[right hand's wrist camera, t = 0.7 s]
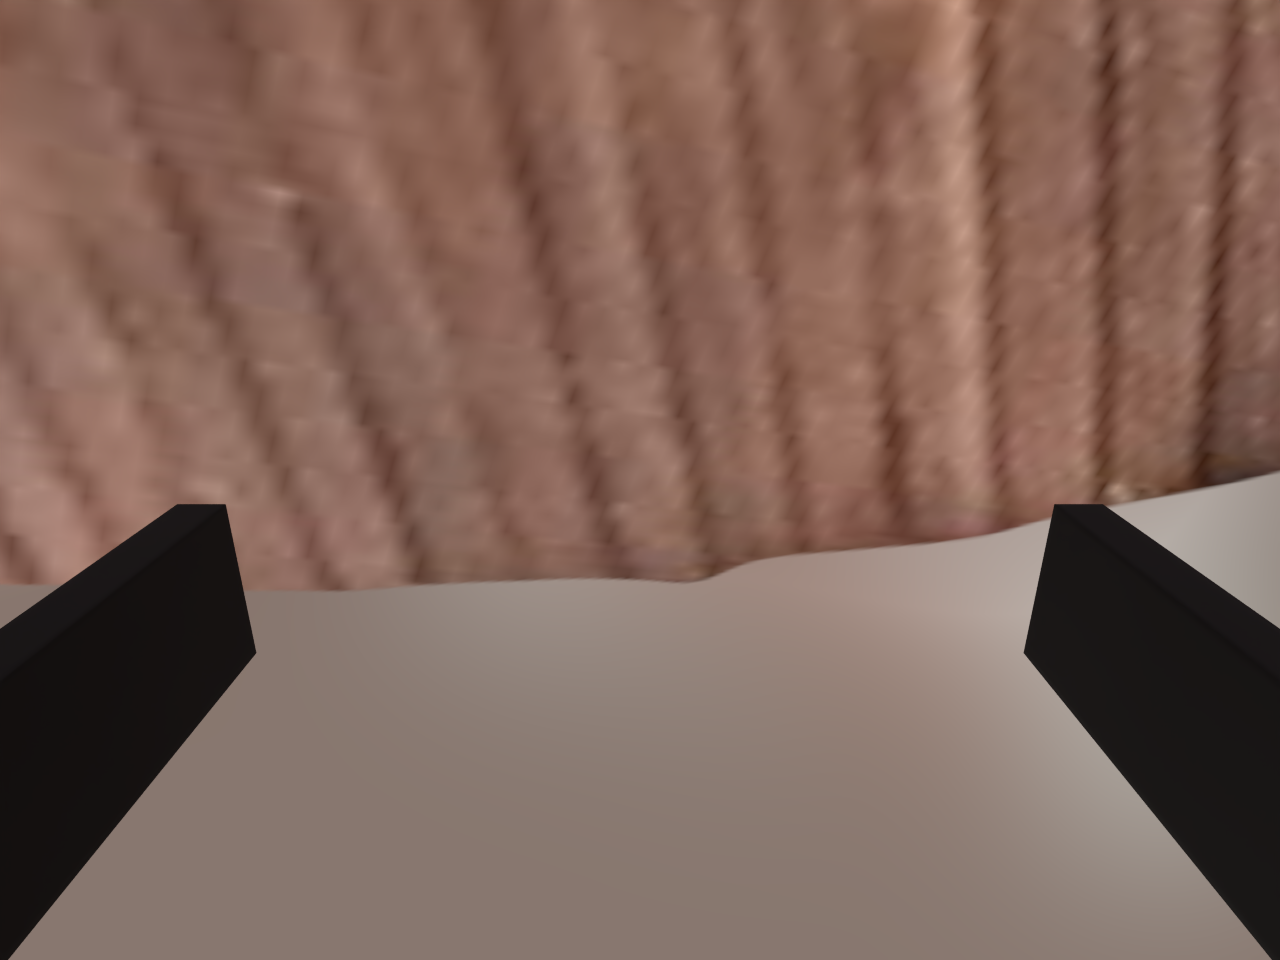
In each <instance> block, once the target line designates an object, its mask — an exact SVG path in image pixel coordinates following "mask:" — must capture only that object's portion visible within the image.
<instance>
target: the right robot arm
mask: <svg viewBox="0 0 1280 960" xmlns="http://www.w3.org/2000/svg"><path fill="white" fill-rule="evenodd" d="M255 654H256V649H255V644H254V639H253V634H252V630H251V625H250V620H249V615H248V610H247V606H246V601H245V596H244V591H243V586H242V581H241V576H240V572H239V567H238V562H237V557H236V552H235V547H234V543H233V538H232V533H231V528H230V523H229V518H228V514H227V509H226V504H177V505H176V506H174V507H173V508H171V509H170V510H168V511H167V512H166V513H164V514H163V515H161V516H160V517H159V518H157V519H156V520H154V521H153V522H151V523H150V524H149V525H147V526H146V527H144V528H143V529H141V530H140V531H139V532H137V533H136V534H134V535H133V536H131V537H130V538H129V539H127V540H126V541H124V542H123V543H122V544H120V545H119V546H117V547H116V548H114V549H113V550H112V551H110V552H109V553H107V554H106V555H104V556H103V557H102V558H100V559H99V560H97V561H96V562H95V563H93V564H92V565H90V566H89V567H87V568H86V569H85V570H83V571H82V572H80V573H79V574H77V575H76V576H75V577H73V578H72V579H70V580H69V581H68V582H66V583H65V584H63V585H62V586H60V587H59V588H58V589H56V590H55V591H53V592H52V593H50V594H49V595H48V596H46V597H45V598H43V599H42V600H40V601H39V602H38V603H36V604H35V605H33V606H32V607H31V608H29V609H28V610H26V611H25V612H23V613H22V614H21V615H19V616H18V617H16V618H15V619H13V620H12V621H11V622H9V623H8V624H6V625H5V626H4V627H2V628H1V629H0V960H8V959H9V958H10V957H11V955H12V954H13V953H14V952H15V950H16V949H17V948H18V947H19V946H20V944H21V943H22V942H23V941H24V939H25V938H26V937H27V936H28V934H29V933H30V932H31V931H32V929H33V928H34V927H35V926H36V924H37V923H38V922H39V921H40V920H41V918H42V917H43V916H44V915H45V913H46V912H47V911H48V910H49V908H50V907H51V906H52V905H53V904H54V902H55V901H56V900H57V899H58V897H59V896H60V895H61V894H62V892H63V891H64V890H65V889H66V887H67V886H68V885H69V884H70V883H71V881H72V880H73V879H74V878H75V876H76V875H77V874H78V873H79V871H80V870H81V869H82V868H83V866H84V865H85V864H86V863H87V862H88V860H89V859H90V858H91V857H92V855H93V854H94V853H95V852H96V850H97V849H98V848H99V847H100V845H101V844H102V843H103V842H104V841H105V839H106V838H107V837H108V836H109V834H110V833H111V832H112V831H113V829H114V828H115V827H116V826H117V824H118V823H119V822H120V821H121V820H122V818H123V817H124V816H125V815H126V813H127V812H128V811H129V810H130V808H131V807H132V806H133V805H134V803H135V802H136V801H137V800H138V798H139V797H140V796H141V795H142V794H143V792H144V791H145V790H146V789H147V787H148V786H149V785H150V784H151V782H152V781H153V780H154V779H155V778H156V776H157V775H158V774H159V773H160V771H161V770H162V769H163V768H164V766H165V765H166V764H167V763H168V761H169V760H170V759H171V758H172V757H173V755H174V754H175V753H176V752H177V750H178V749H179V748H180V747H181V745H182V744H183V743H184V742H185V740H186V739H187V738H188V737H189V736H190V734H191V733H192V732H193V731H194V729H195V728H196V727H197V726H198V724H199V723H200V722H201V721H202V719H203V718H204V717H205V716H206V714H207V713H208V712H209V711H210V710H211V708H212V707H213V706H214V705H215V703H216V702H217V701H218V700H219V698H220V697H221V696H222V695H223V693H224V692H225V691H226V690H227V689H228V687H229V686H230V685H231V684H232V682H233V681H234V680H235V679H236V677H237V676H238V675H239V674H240V672H241V671H242V670H243V669H244V667H245V666H246V665H247V664H248V663H249V661H250V660H251V659H252V658H253V656H254V655H255ZM1024 654H1025V655H1026V656H1027V658H1028V659H1029V660H1030V661H1031V663H1032V664H1033V665H1034V666H1035V668H1036V669H1037V670H1038V671H1039V672H1040V674H1041V675H1042V676H1043V677H1044V679H1045V680H1046V681H1047V682H1048V684H1049V685H1050V686H1051V687H1052V689H1053V690H1054V691H1055V692H1056V693H1057V695H1058V696H1059V697H1060V698H1061V700H1062V701H1063V702H1064V703H1065V705H1066V706H1067V707H1068V708H1069V710H1070V711H1071V712H1072V713H1073V714H1074V716H1075V717H1076V718H1077V719H1078V721H1079V722H1080V723H1081V724H1082V726H1083V727H1084V728H1085V729H1086V731H1087V732H1088V733H1089V734H1090V735H1091V737H1092V738H1093V739H1094V740H1095V742H1096V743H1097V744H1098V745H1099V747H1100V748H1101V749H1102V750H1103V752H1104V753H1105V754H1106V755H1107V756H1108V758H1109V759H1110V760H1111V761H1112V763H1113V764H1114V765H1115V766H1116V768H1117V769H1118V770H1119V771H1120V772H1121V774H1122V775H1123V776H1124V778H1125V779H1126V780H1127V781H1128V782H1129V784H1130V785H1131V786H1132V787H1133V789H1134V790H1135V791H1136V792H1137V794H1138V795H1139V796H1140V797H1141V798H1142V800H1143V801H1144V802H1145V803H1146V805H1147V806H1148V807H1149V808H1150V810H1151V811H1152V812H1153V813H1154V814H1155V816H1156V817H1157V818H1158V820H1159V821H1160V822H1161V823H1162V824H1163V826H1164V827H1165V828H1166V829H1167V831H1168V832H1169V833H1170V834H1171V836H1172V837H1173V838H1174V839H1175V840H1176V842H1177V843H1178V844H1179V845H1180V847H1181V848H1182V849H1183V850H1184V852H1185V853H1186V854H1187V855H1188V857H1189V858H1190V859H1191V860H1192V862H1193V863H1194V864H1195V865H1196V866H1197V868H1198V869H1199V870H1200V871H1201V873H1202V874H1203V875H1204V876H1205V878H1206V879H1207V880H1208V881H1209V882H1210V884H1211V885H1212V886H1213V887H1214V889H1215V890H1216V891H1217V892H1218V894H1219V895H1220V896H1221V897H1222V899H1223V900H1224V901H1225V902H1226V903H1227V905H1228V906H1229V907H1230V908H1231V910H1232V911H1233V912H1234V913H1235V915H1236V916H1237V917H1238V918H1239V920H1240V921H1241V922H1242V923H1243V925H1244V926H1245V927H1246V928H1247V929H1248V931H1249V932H1250V933H1251V934H1252V936H1253V937H1254V938H1255V939H1256V940H1257V942H1258V943H1259V944H1260V946H1261V947H1262V948H1263V949H1264V950H1265V952H1266V953H1267V954H1268V955H1269V957H1270V958H1271V959H1272V960H1280V629H1279V628H1278V627H1276V626H1275V625H1274V624H1272V623H1271V622H1269V621H1268V620H1267V619H1265V618H1264V617H1262V616H1261V615H1259V614H1258V613H1256V612H1255V611H1254V610H1252V609H1251V608H1249V607H1248V606H1247V605H1245V604H1244V603H1242V602H1241V601H1240V600H1238V599H1237V598H1235V597H1234V596H1232V595H1231V594H1230V593H1228V592H1227V591H1225V590H1224V589H1222V588H1221V587H1220V586H1218V585H1217V584H1215V583H1214V582H1212V581H1211V580H1210V579H1208V578H1207V577H1205V576H1204V575H1203V574H1201V573H1200V572H1198V571H1197V570H1195V569H1194V568H1193V567H1191V566H1190V565H1188V564H1187V563H1185V562H1184V561H1183V560H1181V559H1180V558H1178V557H1177V556H1176V555H1174V554H1173V553H1171V552H1170V551H1168V550H1167V549H1166V548H1164V547H1163V546H1161V545H1160V544H1158V543H1157V542H1156V541H1154V540H1153V539H1151V538H1150V537H1149V536H1147V535H1146V534H1144V533H1143V532H1141V531H1140V530H1139V529H1137V528H1136V527H1134V526H1133V525H1131V524H1130V523H1129V522H1127V521H1126V520H1124V519H1123V518H1121V517H1120V516H1119V515H1117V514H1116V513H1114V512H1113V511H1112V510H1110V509H1109V508H1107V507H1106V506H1104V505H1103V504H1054V509H1053V514H1052V518H1051V523H1050V528H1049V533H1048V538H1047V543H1046V547H1045V552H1044V557H1043V562H1042V567H1041V572H1040V576H1039V581H1038V586H1037V591H1036V596H1035V601H1034V605H1033V610H1032V615H1031V620H1030V625H1029V630H1028V635H1027V639H1026V644H1025V649H1024Z"/></svg>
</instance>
